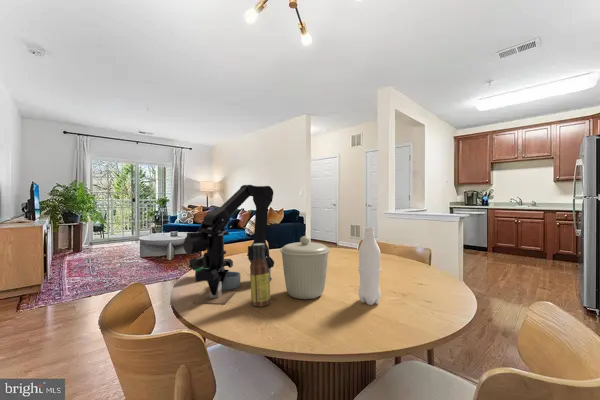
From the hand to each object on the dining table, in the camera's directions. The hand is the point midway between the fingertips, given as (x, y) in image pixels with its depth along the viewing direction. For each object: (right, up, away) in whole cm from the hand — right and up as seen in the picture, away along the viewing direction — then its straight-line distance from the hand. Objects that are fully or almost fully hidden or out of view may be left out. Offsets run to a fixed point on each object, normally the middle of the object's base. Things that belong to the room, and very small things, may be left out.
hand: (215, 293), depth 95 cm
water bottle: (+53, -2, -5) cm, 53 cm away
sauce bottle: (+16, -2, -6) cm, 18 cm away
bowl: (+1, -1, +12) cm, 12 cm away
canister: (+31, -2, +3) cm, 32 cm away
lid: (0, -2, 0) cm, 2 cm away
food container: (-11, -1, +22) cm, 25 cm away
